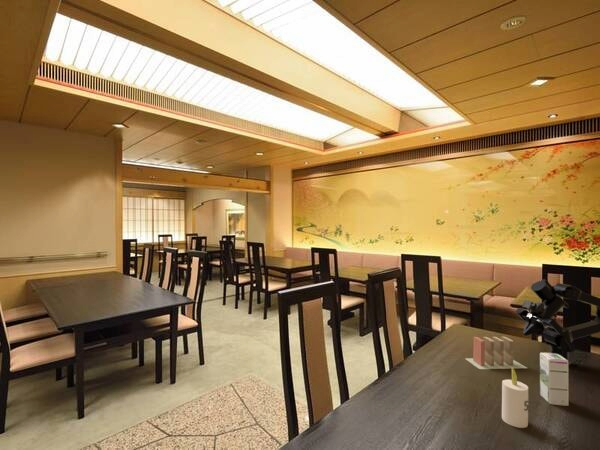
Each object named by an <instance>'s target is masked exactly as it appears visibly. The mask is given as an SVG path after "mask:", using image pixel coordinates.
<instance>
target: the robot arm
mask: <svg viewBox="0 0 600 450" xmlns="http://www.w3.org/2000/svg"><path fill="white" fill-rule="evenodd" d="M530 289H531V291H532V292H533V293H534V294H535V295H536V296H537V297H538V298H539V299H540V300H541V301H543V302H539V301H537V302H536V303H535V302H532V301H530V300H527V299H525V300H524V302H523V304H522V307H518V308H517V309H516V310H514V311H515V313H516V314H517V316H519V317H520V319H521V320H523V321H524V322H525V325H524V328H523V330H522V335H523V336H525V337H528V336H529V335H533V334H536V333H539V332H543V333H542V337H543V339H544V342H545V345H549V346H550V353H555V354H559V355H560V356H562V357H563V358H565V359H566V360H568V367H569V366H571V364H572V361H570V360H569V356H570V355H569V354H570V353H573V352H575V349H576V345H574V343H573V341H574V340H575V339H580V338H584V337H587V336H592V335H594V334H599V333H600V297H598V296H595V295H591V294H589V293H586V292H583V291H582V290H581V289H579V288H577V287H576V286H575V285H570V284H565V283H559V282H558V283H556V284H555V285H551V284H550V282H549V280H548V279H541V280H540V281H536V282H534V283H532V285H531V286H530ZM564 299H567V300H570V301H578V302H581V303H584V304H589V305H591V306H594V307H595V308H596V311H595V315H596V317H595V319H594V320H591V321H588V322H584V323H579V324H577V325H572V326H569V327H564V326H562V325H560V324H559V322H558V321H557V320H556V318H557V317H558V315H557V313H558V312H559V311H560V310H561V309H562V308H565V309H569V308H570V307H569V304H568V303H569V302H568V301H566V300H564ZM524 308H525V309H524ZM528 310H529V311H528ZM554 318H555V319H554Z"/></svg>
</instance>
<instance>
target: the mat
mask: <svg viewBox="0 0 600 450" xmlns="http://www.w3.org/2000/svg"><path fill="white" fill-rule="evenodd" d="M464 359H465V360H466V361H468V363H470V364H471V365H473V366H474V367H476V368H477V369H479V370H498V369H499V370H505V369H507V370H508V369H509V370H510V369H511V370H512V368H513V369H514V370H515V369H528V367H527V366H525V365H523V364H521V363H520V362H518V361H516V360H515V359H513V366H509V365H507V364H506V363H504V366H499V365H498V364H496V363H495V362H494V366H490V365H488V364H487V363H485V366H480V365H478V364H477V363H476V362H474V361H473V357H471V358H468V357H466V358H464Z"/></svg>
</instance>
